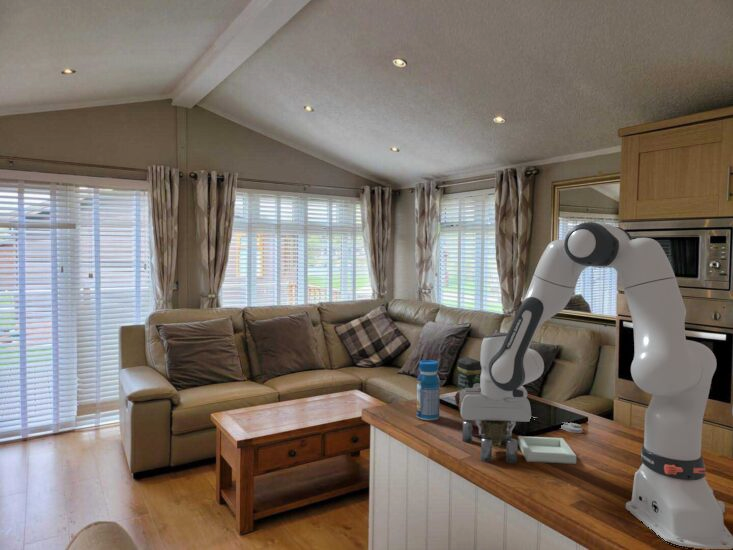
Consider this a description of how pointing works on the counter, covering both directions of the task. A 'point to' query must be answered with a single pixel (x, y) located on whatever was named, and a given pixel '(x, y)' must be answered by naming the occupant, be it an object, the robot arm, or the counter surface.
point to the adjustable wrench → (571, 427)
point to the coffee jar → (468, 373)
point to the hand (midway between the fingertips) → (495, 434)
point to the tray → (546, 450)
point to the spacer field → (487, 444)
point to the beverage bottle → (428, 391)
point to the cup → (495, 431)
